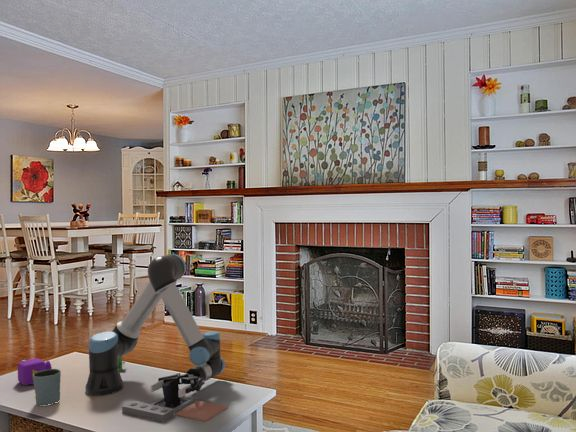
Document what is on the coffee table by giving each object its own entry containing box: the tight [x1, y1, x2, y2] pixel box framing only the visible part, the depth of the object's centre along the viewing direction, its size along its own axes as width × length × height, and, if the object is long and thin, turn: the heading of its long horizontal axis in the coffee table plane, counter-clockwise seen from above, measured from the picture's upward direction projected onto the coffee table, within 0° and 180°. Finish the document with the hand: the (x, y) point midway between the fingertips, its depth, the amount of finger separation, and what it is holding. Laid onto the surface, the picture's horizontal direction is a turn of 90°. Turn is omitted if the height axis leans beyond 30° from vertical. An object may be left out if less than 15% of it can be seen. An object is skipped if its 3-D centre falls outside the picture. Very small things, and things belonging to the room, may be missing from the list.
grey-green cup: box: [33, 368, 62, 405], centre depth 197 cm, size 10×10×12 cm
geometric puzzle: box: [118, 356, 126, 371], centre depth 237 cm, size 7×7×8 cm
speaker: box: [161, 378, 182, 409], centre depth 192 cm, size 8×6×10 cm
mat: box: [174, 400, 229, 422], centre depth 185 cm, size 14×14×1 cm
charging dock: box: [121, 396, 194, 423], centre depth 189 cm, size 20×20×3 cm
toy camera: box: [17, 358, 53, 386], centre depth 223 cm, size 11×14×10 cm
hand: (165, 391), depth 189 cm, fingers open, 13 cm apart
